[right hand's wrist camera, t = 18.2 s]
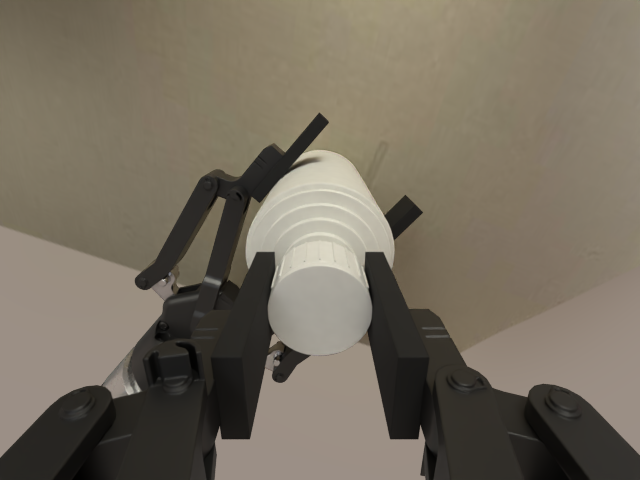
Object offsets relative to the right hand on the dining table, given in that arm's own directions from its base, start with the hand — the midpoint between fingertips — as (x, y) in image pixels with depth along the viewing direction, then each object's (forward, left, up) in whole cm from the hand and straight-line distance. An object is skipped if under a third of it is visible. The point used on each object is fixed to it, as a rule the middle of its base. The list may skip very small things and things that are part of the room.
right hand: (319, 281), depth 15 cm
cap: (0, 0, +2) cm, 2 cm away
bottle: (0, 0, -16) cm, 16 cm away
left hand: (-1, +5, -10) cm, 11 cm away
